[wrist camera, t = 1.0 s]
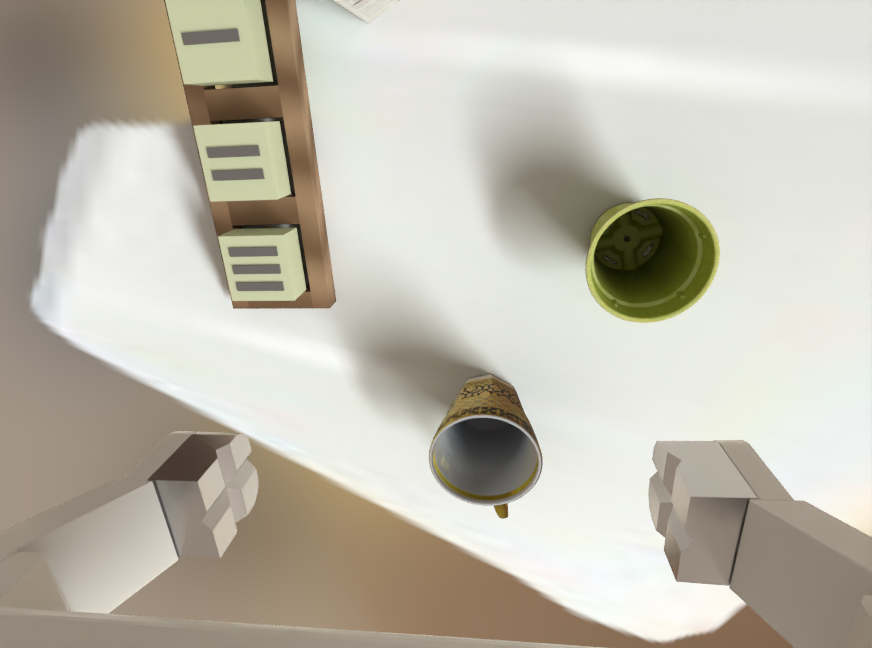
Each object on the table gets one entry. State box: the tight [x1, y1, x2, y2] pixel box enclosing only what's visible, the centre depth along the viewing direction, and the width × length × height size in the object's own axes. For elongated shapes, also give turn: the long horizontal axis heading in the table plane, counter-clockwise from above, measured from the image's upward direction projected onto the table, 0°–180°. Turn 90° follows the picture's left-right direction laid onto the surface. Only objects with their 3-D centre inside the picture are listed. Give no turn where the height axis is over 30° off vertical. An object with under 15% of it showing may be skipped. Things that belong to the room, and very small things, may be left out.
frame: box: [164, 0, 336, 308], centre depth 44 cm, size 28×10×2 cm, turn 3°
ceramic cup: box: [429, 374, 542, 518], centre depth 49 cm, size 13×10×10 cm
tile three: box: [218, 228, 306, 301], centre depth 45 cm, size 6×6×3 cm
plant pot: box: [585, 198, 720, 323], centre depth 40 cm, size 9×9×9 cm
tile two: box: [193, 121, 291, 202], centre depth 42 cm, size 6×6×3 cm
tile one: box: [165, 0, 273, 86], centre depth 38 cm, size 6×6×3 cm
